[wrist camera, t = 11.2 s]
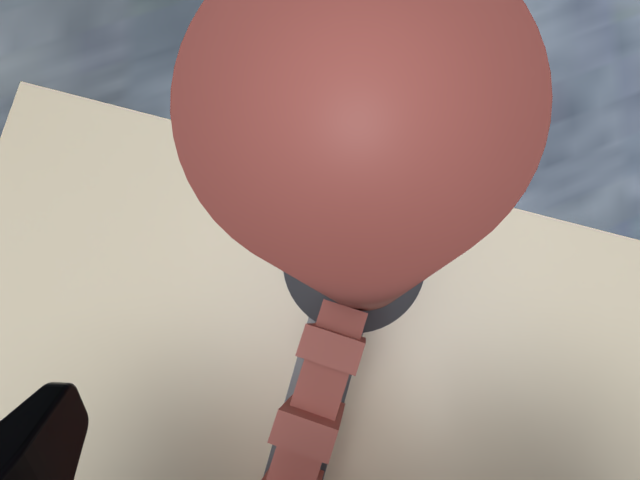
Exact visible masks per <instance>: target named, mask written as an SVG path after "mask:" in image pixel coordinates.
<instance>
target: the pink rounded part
mask: <svg viewBox="0 0 640 480" xmlns="http://www.w3.org/2000/svg"><path fill="white" fill-rule="evenodd" d="M551 109H552V85H551V72H550V67H549V63H548V58H547V53H546V49H545V46H544V43H543V40H542V38H541V35H540V32H539V30H538V27H537V25H536V23H535V21H534V19H533V17H532V15H531V13H530V12H529V10H528V8H527V6H526V4H525V3H524V2H523V0H204V1H203V3H202V4H201V6H200V8H199V9H198V11H197V13H196V14H195V16H194V18H193V19H192V21H191V23H190V25H189V27H188V29H187V32H186V34H185V36H184V38H183V41H182V43H181V46H180V49H179V53H178V56H177V59H176V63H175V66H174V72H173V79H172V85H171V105H170V115H171V123H172V132H173V138H174V142H175V146H176V150H177V154H178V158H179V161H180V163H181V166H182V168H183V171H184V173H185V176H186V178H187V181H188V183H189V184H190V186H191V188H192V189H193V191H194V193H195V195H196V196H197V198H198V200H199V202H200V203H201V204H202V206H203V207H204V208H205V209H206V211H207V212H208V213H209V215H210V216H211V217H212V219H213V220H214V221H215V222H216V223H217V224H218V225H219V226H220V227H221V228H222V229H223V230H224V231H225V232H226V233H227V234H228V235H229V236H230V237H231V238H232V239H234V240H235V241H236V242H238V243H239V244H240V245H242V246H243V247H244V248H246V249H247V250H248V251H250V252H251V253H253V254H254V255H256V256H258V257H259V258H261V259H263V260H265V261H266V262H268V263H270V264H272V265H273V266H275V267H277V268H278V269H280V270H282V271H284V272H285V273H287V274H289V275H290V276H292V277H294V278H296V279H297V280H299V281H301V282H303V283H304V284H306V285H308V286H309V287H311V288H313V289H315V290H316V291H318V292H320V293H321V294H323V295H325V296H327V297H328V298H330V299H332V300H334V301H335V302H337V303H335V302H331V301H328V300H325V299H323V302H322V305H321V308H320V311H319V315H318V318H317V321H316V323H307V324H305V327H304V330H303V333H302V336H301V339H300V342H299V346H298V349H297V352H296V355H295V356H297V357H300V358H303V359H304V362H303V365H302V368H301V371H300V374H299V377H298V380H297V384H296V387H295V390H294V393H293V395H292V396H291V397H290V398H289V399H288V400H287V401H286V402H285V403H284V404H283V405H282V406H281V407H280V408H279V409H278V411H277V414H276V417H275V420H274V423H273V427H272V430H271V433H270V436H269V439H268V442H267V443H269V444H272V445H275V446H276V449H275V452H274V456H273V459H272V462H271V465H270V467H269V469H268V471H267V472H266V474H265V475H264V477H263V478H262V480H322V479H323V475H324V471H323V470H320V467H321V464H322V462H323V463H325V464H329V460H330V457H331V454H332V451H333V447H334V444H335V441H336V438H337V434H338V431H339V427H340V423H341V419H342V415H343V411H344V407H345V403H342V402H341V400H342V396H343V393H344V390H345V387H346V384H347V380H348V377H349V374H350V375H353V376H356V373H357V370H358V367H359V363H360V360H361V357H362V354H363V350H364V347H365V344H366V338H365V337H362V336H361V335H362V332H363V329H364V325H365V322H366V319H367V316H368V313H366V312H362V311H370V310H376V309H379V308H382V307H384V306H386V305H388V304H390V303H391V302H393V301H394V300H396V299H397V298H399V297H400V296H402V295H403V294H405V293H406V292H407V291H409V290H410V289H412V288H413V287H415V286H416V285H418V284H419V283H421V282H422V281H424V280H425V279H427V278H428V277H429V276H431V275H432V274H434V273H435V272H437V271H438V270H440V269H441V268H443V267H444V266H446V265H447V264H449V263H450V262H452V261H453V260H454V259H456V258H457V257H459V256H460V255H462V254H463V253H465V252H466V251H468V250H469V249H471V248H472V247H473V246H475V245H476V244H477V243H478V242H480V241H481V240H482V239H483V238H484V237H486V236H487V235H488V234H489V233H491V232H492V231H493V230H494V229H495V228H496V227H497V226H498V225H499V224H500V223H501V221H502V220H503V219H504V218H505V217H506V216H507V215H508V214H509V213H510V212H511V210H512V209H513V208H514V206H515V205H516V204H517V202H518V201H519V199H520V198H521V197H522V195H523V194H524V192H525V191H526V189H527V187H528V185H529V183H530V181H531V179H532V178H533V176H534V174H535V172H536V170H537V168H538V165H539V162H540V159H541V157H542V154H543V151H544V148H545V146H546V141H547V136H548V131H549V127H550V122H551ZM338 303H339V304H338Z"/></svg>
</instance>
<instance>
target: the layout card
mask: <svg viewBox="0 0 640 480" xmlns="http://www.w3.org/2000/svg"><path fill="white" fill-rule="evenodd" d="M323 299H325V300H328V301H331V302H335V301H334V300H332V299H330V298H328V297H327V296H325V295H323V294H321V293H320V292H318V291H316V290H315V289H313V288H311V287H309V286H308V285H306V284H304V283H303V282H301V281H299V280H297V279H296V278H294V277H292V276H290V275H289V274H287V273H285V272H284V271H282V270H280V269H278V268H277V267H275V266H273V265H272V264H270V263H268V262H266V261H265V260H263V259H261V258H259V257H258V256H256V255H254V254H253V253H251V252H250V251H248V250H247V249H246V248H244V247H243V246H242V245H240V244H239V243H238V242H236V241H235V240H234V239H232V238H231V237H230V236H229V235H228V234H227V233H226V232H225V231H224V230H223V229H222V228H221V227H220V226H219V225H218V224H217V223H216V222H215V221H214V220H213V219H212V217H211V216H210V215H209V213H208V212H207V211H206V209H205V208H204V207H203V206H202V204H201V203H200V202H199V200H198V198H197V196H196V195H195V193H194V191H193V189H192V188H191V186H190V184H189V183H188V181H187V178H186V176H185V173H184V171H183V168H182V166H181V163H180V161H179V158H178V154H177V150H176V146H175V142H174V138H173V132H172V123H171V120H170V119H166V118H162V117H158V116H154V115H150V114H146V113H142V112H138V111H135V110H131V109H127V108H123V107H119V106H115V105H111V104H107V103H103V102H100V101H96V100H92V99H88V98H84V97H80V96H76V95H72V94H68V93H65V92H61V91H57V90H53V89H49V88H45V87H41V86H37V85H33V84H30V83H26V82H22V81H21V82H20V84H19V87H18V90H17V93H16V96H15V98H14V101H13V104H12V107H11V110H10V112H9V115H8V118H7V121H6V124H5V126H4V129H3V132H2V135H1V138H0V421H1V420H2V419H3V418H4V417H6V416H7V415H8V414H9V413H10V412H12V411H13V410H14V409H15V408H16V407H18V406H19V405H20V404H21V403H22V402H24V401H25V400H26V399H27V398H28V397H30V396H31V395H32V394H33V393H35V392H36V391H37V390H38V389H39V388H41V387H42V386H43V385H45V384H47V383H49V382H67V383H72V384H74V385H75V386H76V387H77V389H78V392H79V394H80V396H81V399H82V401H83V404H84V406H85V408H86V411H87V413H88V418H89V423H88V430H87V433H86V437H85V441H84V444H83V448H82V452H81V455H80V459H79V463H78V466H77V470H76V474H75V477H74V480H262V478H263V477H264V475H265V474H266V472H267V471H268V469H269V467H270V465H271V462H272V459H273V456H274V452H275V449H276V446H275V445H272V444H269V443H267V442H268V439H269V436H270V433H271V430H272V427H273V423H274V420H275V417H276V414H277V411H278V409H279V408H280V407H281V406H282V405H283V404H284V403H285V402H286V401H287V400H288V399H289V398H290V397H291V396H292V395H293V393H294V390H295V387H296V384H297V380H298V377H299V374H300V371H301V368H302V365H303V362H304V359H303V358H300V357H297V356H295V355H296V352H297V349H298V346H299V342H300V339H301V336H302V333H303V330H304V327H305V324H307V323H316V321H317V318H318V315H319V311H320V308H321V305H322V302H323ZM335 303H337V302H335ZM338 304H339V303H338ZM362 312H366V313H368V316H367V319H366V322H365V325H364V329H363V332H362V335H361V336H362V337H365V338H366V344H365V347H364V350H363V354H362V357H361V360H360V363H359V367H358V370H357V373H356V376H353V375H350V374H349V377H348V380H347V384H346V387H345V390H344V393H343V396H342V400H341V402H342V403H345V407H344V411H343V415H342V419H341V423H340V427H339V431H338V434H337V438H336V441H335V444H334V447H333V451H332V454H331V457H330V460H329V464H325V463H323V462H322V464H321V467H320V470H323V471H324V475H323V479H322V480H640V240H637V239H633V238H629V237H625V236H621V235H617V234H613V233H609V232H605V231H602V230H598V229H594V228H590V227H586V226H582V225H578V224H574V223H570V222H566V221H563V220H559V219H555V218H551V217H547V216H543V215H539V214H535V213H531V212H528V211H524V210H520V209H516V208H513V209H512V210H511V212H510V213H509V214H508V215H507V216H506V217H505V218H504V219H503V220H502V221H501V223H500V224H499V225H498V226H497V227H496V228H495V229H494V230H493V231H492V232H491V233H489V234H488V235H487V236H486V237H484V238H483V239H482V240H481V241H480V242H478V243H477V244H476V245H475V246H473V247H472V248H471V249H469V250H468V251H466V252H465V253H463V254H462V255H460V256H459V257H457V258H456V259H454V260H453V261H452V262H450V263H449V264H447V265H446V266H444V267H443V268H441V269H440V270H438V271H437V272H435V273H434V274H432V275H431V276H429V277H428V278H427V279H425V280H424V281H422V282H421V283H419V284H418V285H416V286H415V287H413V288H412V289H410V290H409V291H407V292H406V293H405V294H403V295H402V296H400V297H399V298H397V299H396V300H394V301H393V302H391V303H390V304H388V305H386V306H384V307H382V308H379V309H376V310H370V311H362Z"/></svg>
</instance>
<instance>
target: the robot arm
mask: <svg viewBox="0 0 640 480" xmlns="http://www.w3.org/2000/svg"><path fill="white" fill-rule="evenodd" d="M88 423H89V418H88V413H87V411H86V408H85V406H84V404H83V401H82V399H81V396H80V394H79V392H78V389H77V387H76V386H75V385H74V384H72V383H67V382H49V383H47V384H45V385H43V386H42V387H41V388H39V389H38V390H37V391H36V392H35V393H33V394H32V395H31V396H30V397H28V398H27V399H26V400H25V401H24V402H22V403H21V404H20V405H19V406H18V407H16V408H15V409H14V410H13V411H12V412H10V413H9V414H8V415H7V416H6V417H4V418H3V419H2V420H1V421H0V480H74V477H75V474H76V470H77V466H78V463H79V459H80V455H81V452H82V448H83V444H84V441H85V437H86V433H87V430H88Z"/></svg>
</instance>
